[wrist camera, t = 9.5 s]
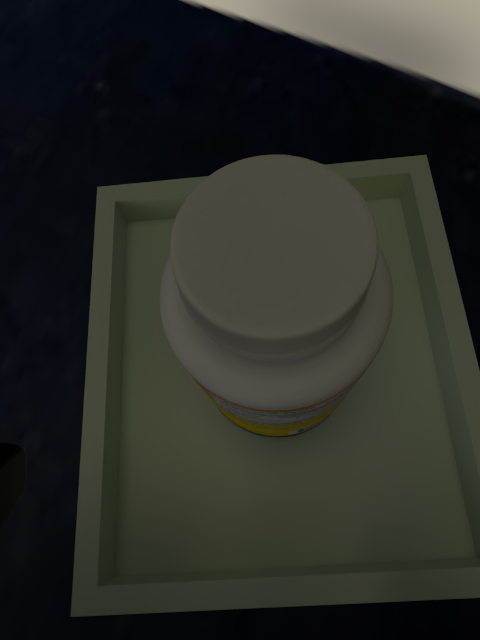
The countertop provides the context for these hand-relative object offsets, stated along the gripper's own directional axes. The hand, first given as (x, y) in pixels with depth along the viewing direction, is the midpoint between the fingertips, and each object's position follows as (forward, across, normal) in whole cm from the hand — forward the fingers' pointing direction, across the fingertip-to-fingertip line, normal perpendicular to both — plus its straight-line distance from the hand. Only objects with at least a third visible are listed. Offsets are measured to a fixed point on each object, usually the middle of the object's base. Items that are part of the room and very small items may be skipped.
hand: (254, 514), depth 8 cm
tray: (+10, 0, +2) cm, 11 cm away
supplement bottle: (+10, 0, +2) cm, 10 cm away
